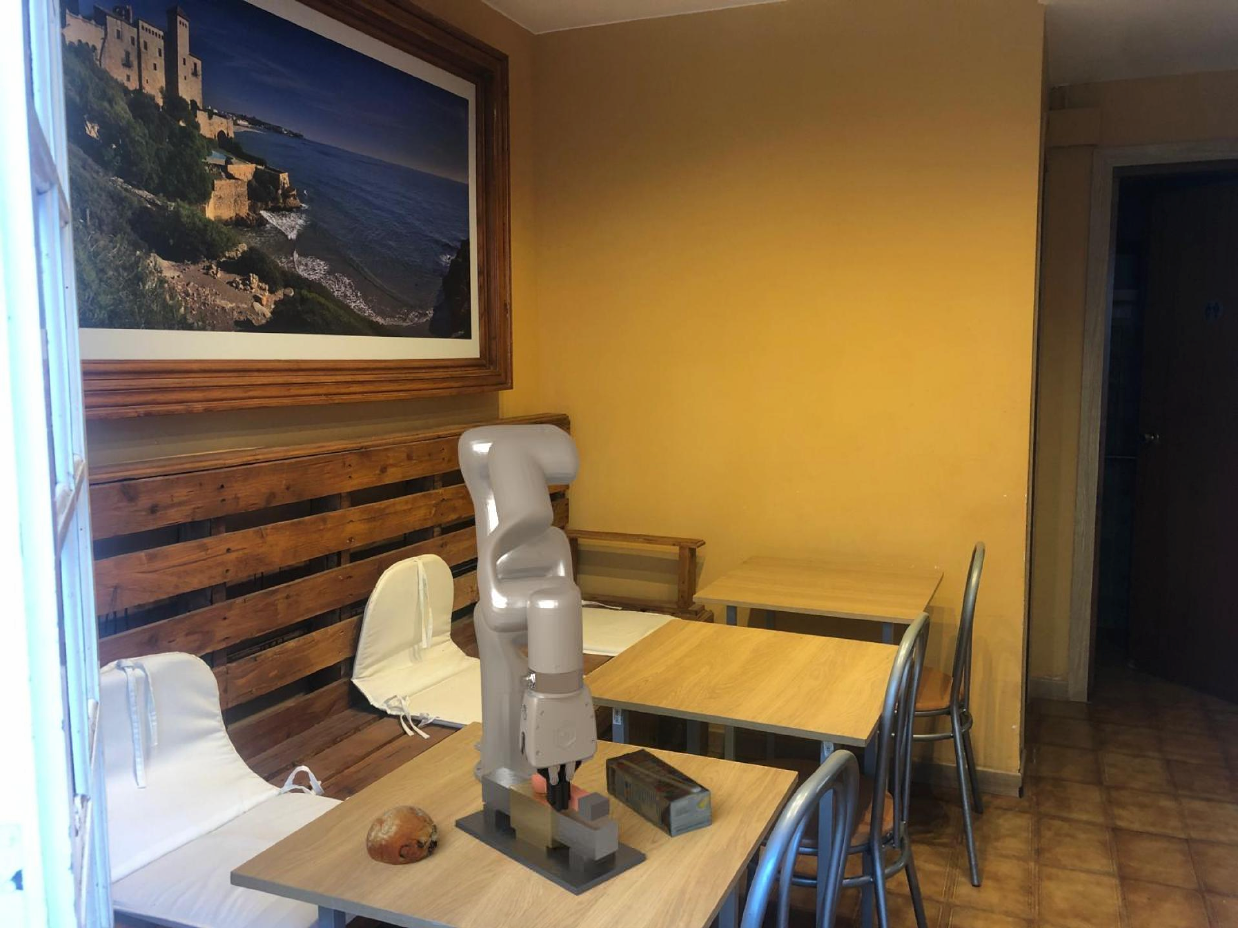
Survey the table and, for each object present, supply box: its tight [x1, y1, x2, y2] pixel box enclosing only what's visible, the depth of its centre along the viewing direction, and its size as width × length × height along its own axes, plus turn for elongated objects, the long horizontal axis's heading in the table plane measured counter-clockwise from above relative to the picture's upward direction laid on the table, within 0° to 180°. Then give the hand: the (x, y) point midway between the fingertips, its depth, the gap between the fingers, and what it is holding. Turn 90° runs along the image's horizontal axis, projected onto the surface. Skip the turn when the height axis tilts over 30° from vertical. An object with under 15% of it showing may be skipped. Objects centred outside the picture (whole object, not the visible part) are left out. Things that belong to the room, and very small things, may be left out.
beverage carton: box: [605, 748, 712, 838], centre depth 156 cm, size 8×19×7 cm, turn 32°
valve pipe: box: [454, 768, 646, 896], centre depth 145 cm, size 28×13×8 cm, turn 44°
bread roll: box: [365, 805, 440, 866], centre depth 145 cm, size 10×10×8 cm
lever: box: [532, 766, 611, 821], centre depth 141 cm, size 15×4×3 cm, turn 39°
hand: (558, 806), depth 137 cm, fingers closed
